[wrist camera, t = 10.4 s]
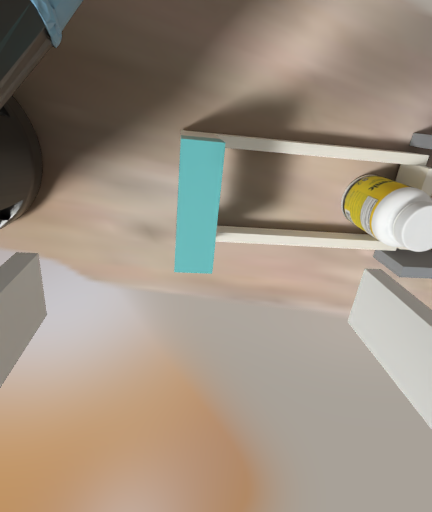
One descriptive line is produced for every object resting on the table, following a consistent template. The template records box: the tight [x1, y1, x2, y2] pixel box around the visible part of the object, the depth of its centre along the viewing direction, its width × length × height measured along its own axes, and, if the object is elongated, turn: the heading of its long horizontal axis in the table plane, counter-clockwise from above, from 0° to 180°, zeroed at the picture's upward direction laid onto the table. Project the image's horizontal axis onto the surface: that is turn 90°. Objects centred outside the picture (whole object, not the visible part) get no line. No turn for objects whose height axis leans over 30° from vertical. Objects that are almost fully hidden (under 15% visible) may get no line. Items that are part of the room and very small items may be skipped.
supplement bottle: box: [341, 175, 432, 252], centre depth 30 cm, size 5×5×10 cm
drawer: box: [174, 130, 432, 274], centre depth 29 cm, size 24×10×9 cm, turn 84°
